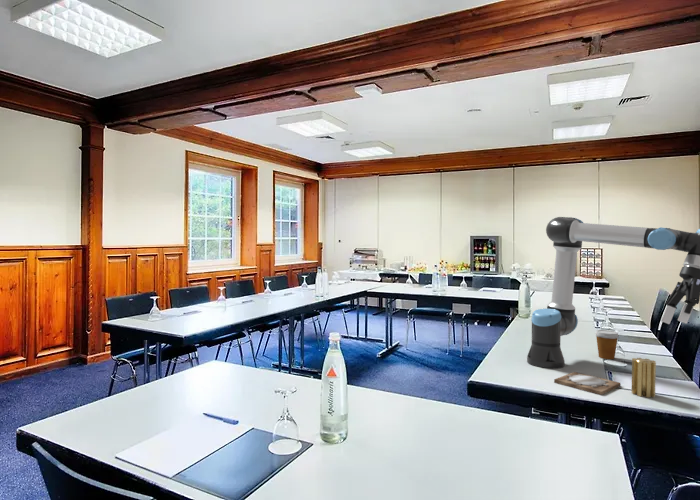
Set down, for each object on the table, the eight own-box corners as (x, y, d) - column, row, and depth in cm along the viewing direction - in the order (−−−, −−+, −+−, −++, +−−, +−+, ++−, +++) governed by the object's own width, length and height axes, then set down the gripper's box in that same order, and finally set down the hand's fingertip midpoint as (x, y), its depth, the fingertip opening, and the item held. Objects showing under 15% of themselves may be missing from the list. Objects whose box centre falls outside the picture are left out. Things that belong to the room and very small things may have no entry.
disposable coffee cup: (610, 361, 198) (610, 334, 198) (590, 356, 206) (590, 330, 206) (623, 358, 202) (623, 332, 202) (602, 354, 211) (603, 329, 210)
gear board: (554, 382, 169) (554, 378, 169) (574, 374, 178) (574, 370, 178) (601, 395, 155) (601, 390, 155) (620, 385, 165) (620, 381, 165)
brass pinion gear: (628, 393, 157) (628, 359, 157) (636, 389, 161) (636, 356, 161) (650, 399, 152) (651, 364, 151) (658, 394, 156) (659, 361, 155)
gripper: (725, 268, 149) (702, 326, 148) (689, 277, 173) (669, 327, 172) (700, 260, 151) (677, 316, 150) (668, 269, 175) (648, 318, 174)
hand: (673, 322), depth 161 cm, fingers open, 13 cm apart
